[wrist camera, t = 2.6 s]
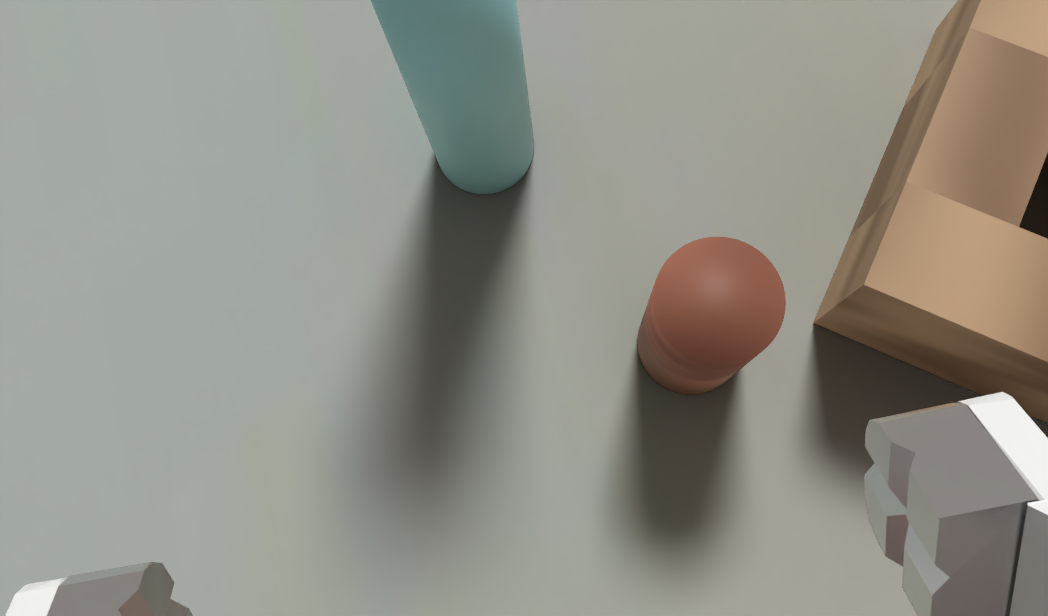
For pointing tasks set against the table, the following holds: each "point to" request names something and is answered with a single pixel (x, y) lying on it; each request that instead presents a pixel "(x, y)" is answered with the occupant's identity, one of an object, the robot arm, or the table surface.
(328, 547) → the table surface
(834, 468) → the table surface
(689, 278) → the short pin
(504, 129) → the long pin
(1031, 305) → the hole block
